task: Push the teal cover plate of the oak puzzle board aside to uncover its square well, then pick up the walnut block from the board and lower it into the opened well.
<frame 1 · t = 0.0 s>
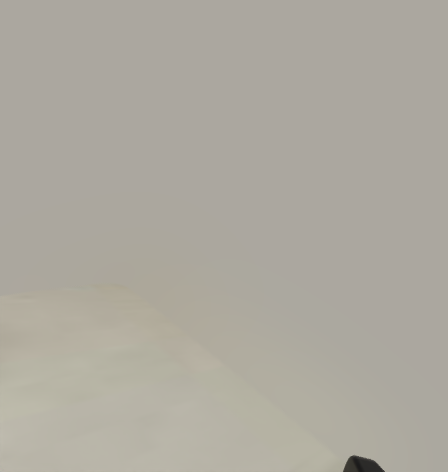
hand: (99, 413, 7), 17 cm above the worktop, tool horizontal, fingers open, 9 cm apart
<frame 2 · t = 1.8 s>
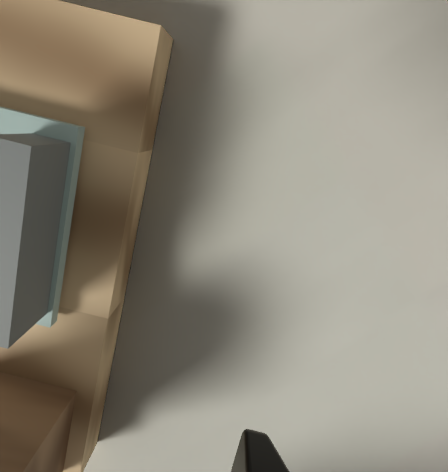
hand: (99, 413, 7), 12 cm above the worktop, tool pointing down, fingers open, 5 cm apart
block: (22, 420, 19), point 2 cm above the worktop, touching board
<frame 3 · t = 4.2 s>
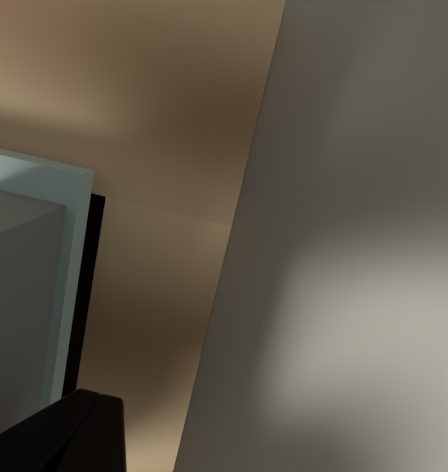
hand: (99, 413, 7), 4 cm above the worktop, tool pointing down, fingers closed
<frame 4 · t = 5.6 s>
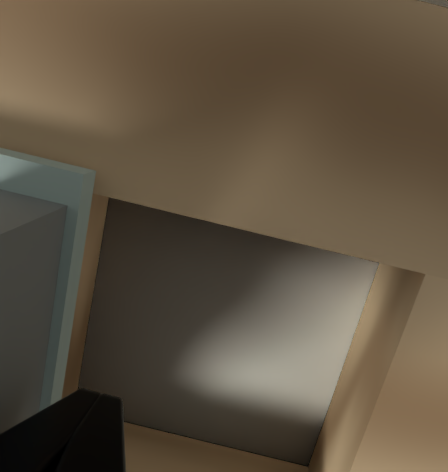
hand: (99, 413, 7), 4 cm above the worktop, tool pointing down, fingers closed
board: (133, 378, 12), on the worktop
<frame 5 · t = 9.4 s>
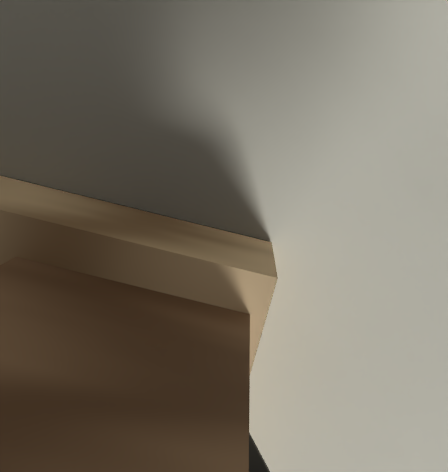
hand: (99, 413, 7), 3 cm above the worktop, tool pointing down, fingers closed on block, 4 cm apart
block: (113, 387, 8), point 2 cm above the worktop, touching board, gripper
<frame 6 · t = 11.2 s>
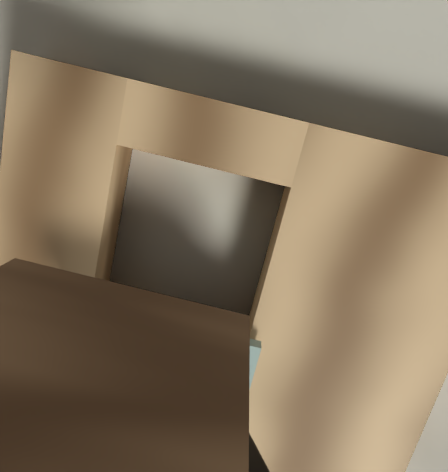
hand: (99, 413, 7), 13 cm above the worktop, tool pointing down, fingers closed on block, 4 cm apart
board: (225, 284, 20), on the worktop
cover: (141, 423, 17), point 4 cm above the worktop, slide at 7.0 cm
block: (112, 389, 8), point 12 cm above the worktop, touching gripper
when the fingers open (3 cm above the worktop, at t = 13.3 s): block drops 2 cm, resting in board.
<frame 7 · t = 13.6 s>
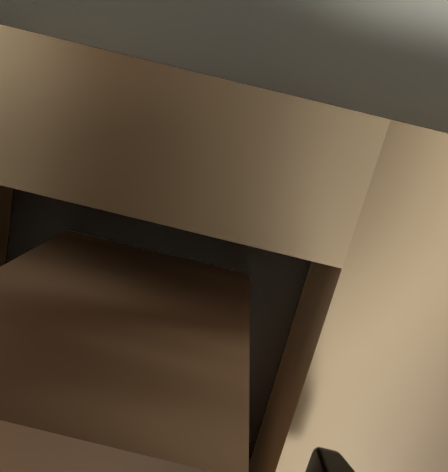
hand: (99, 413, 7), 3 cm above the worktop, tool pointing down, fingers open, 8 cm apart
board: (201, 420, 11), on the worktop
block: (142, 334, 10), resting in board
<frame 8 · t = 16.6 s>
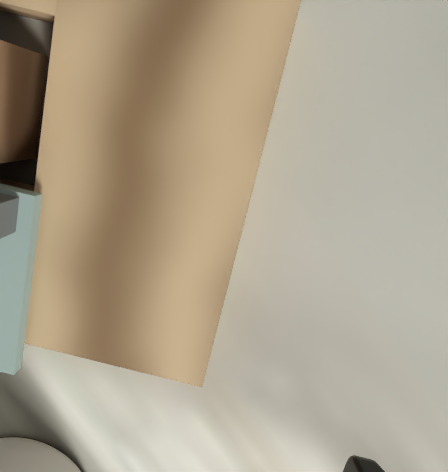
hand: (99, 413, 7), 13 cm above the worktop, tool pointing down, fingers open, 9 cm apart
board: (30, 151, 19), on the worktop
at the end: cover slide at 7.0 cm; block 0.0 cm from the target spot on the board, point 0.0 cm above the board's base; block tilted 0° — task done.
